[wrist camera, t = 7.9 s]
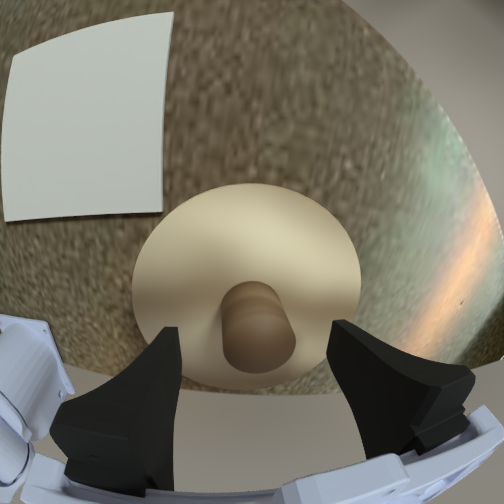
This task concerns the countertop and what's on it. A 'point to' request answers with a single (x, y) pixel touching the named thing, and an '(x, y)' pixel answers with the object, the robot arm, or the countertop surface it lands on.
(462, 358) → the countertop surface
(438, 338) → the countertop surface
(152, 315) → the lid
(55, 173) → the mat
